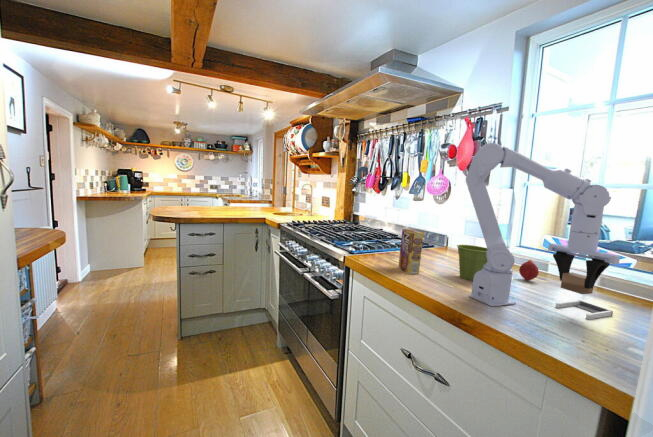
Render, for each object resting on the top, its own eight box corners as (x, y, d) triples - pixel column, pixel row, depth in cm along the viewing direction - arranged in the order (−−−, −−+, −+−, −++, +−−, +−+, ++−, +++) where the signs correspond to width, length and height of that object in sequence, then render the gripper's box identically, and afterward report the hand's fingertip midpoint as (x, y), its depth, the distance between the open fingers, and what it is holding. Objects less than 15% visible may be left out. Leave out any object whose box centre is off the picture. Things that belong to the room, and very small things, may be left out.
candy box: (420, 274, 106) (424, 232, 104) (409, 274, 105) (413, 232, 103) (408, 267, 114) (411, 228, 113) (397, 267, 113) (401, 228, 112)
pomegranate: (540, 284, 104) (543, 262, 103) (522, 282, 105) (525, 260, 104) (532, 279, 110) (535, 258, 109) (515, 277, 111) (518, 256, 110)
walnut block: (582, 294, 73) (584, 278, 73) (560, 287, 78) (562, 272, 78) (592, 293, 75) (594, 278, 74) (570, 286, 79) (572, 272, 79)
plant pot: (496, 285, 99) (501, 252, 98) (461, 282, 99) (465, 250, 98) (479, 275, 111) (483, 245, 110) (447, 272, 111) (451, 243, 110)
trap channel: (588, 319, 75) (589, 315, 75) (555, 307, 82) (556, 303, 82) (612, 315, 79) (612, 311, 79) (578, 304, 86) (579, 300, 86)
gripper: (630, 237, 69) (620, 293, 71) (562, 228, 83) (555, 275, 84) (613, 237, 67) (603, 295, 68) (546, 227, 80) (539, 276, 82)
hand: (575, 284), depth 76 cm, fingers closed on walnut block, 5 cm apart
